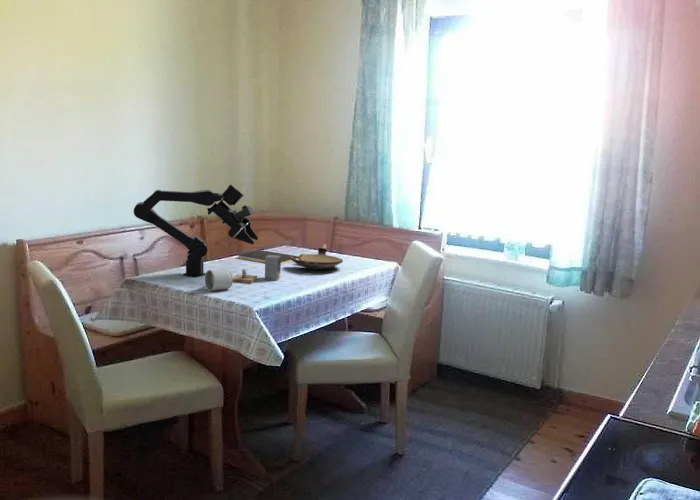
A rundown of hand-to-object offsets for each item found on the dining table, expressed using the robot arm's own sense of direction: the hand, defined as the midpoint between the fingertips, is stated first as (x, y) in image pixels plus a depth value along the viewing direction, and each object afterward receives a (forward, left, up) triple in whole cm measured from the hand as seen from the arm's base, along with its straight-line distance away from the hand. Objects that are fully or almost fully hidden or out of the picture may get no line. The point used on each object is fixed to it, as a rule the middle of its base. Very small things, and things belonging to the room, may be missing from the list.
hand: (255, 241), depth 266 cm
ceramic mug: (-25, -3, -14) cm, 29 cm away
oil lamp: (+32, -10, -14) cm, 36 cm away
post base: (-8, -1, -14) cm, 16 cm away
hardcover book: (+31, +17, -15) cm, 38 cm away
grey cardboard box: (+1, -8, -14) cm, 16 cm away
